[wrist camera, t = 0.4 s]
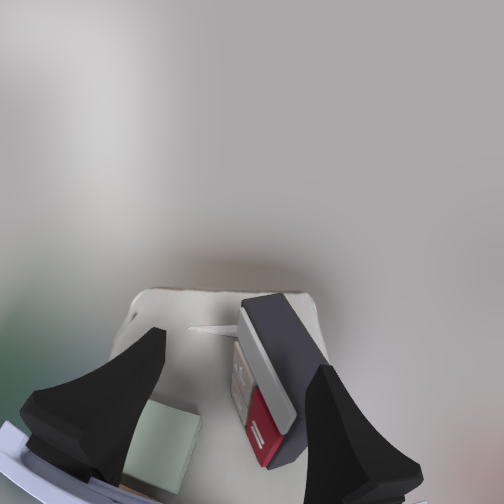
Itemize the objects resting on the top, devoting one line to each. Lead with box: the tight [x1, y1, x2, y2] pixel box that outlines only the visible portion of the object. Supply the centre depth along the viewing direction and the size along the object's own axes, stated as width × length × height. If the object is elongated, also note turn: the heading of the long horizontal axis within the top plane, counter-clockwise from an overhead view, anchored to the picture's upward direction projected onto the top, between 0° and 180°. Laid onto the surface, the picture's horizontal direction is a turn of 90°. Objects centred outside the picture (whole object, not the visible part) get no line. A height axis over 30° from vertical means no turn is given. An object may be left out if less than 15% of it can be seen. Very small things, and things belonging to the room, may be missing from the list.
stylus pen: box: [188, 325, 238, 337], centre depth 38 cm, size 15×3×2 cm, turn 89°
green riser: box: [123, 399, 202, 495], centre depth 22 cm, size 9×8×3 cm
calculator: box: [231, 293, 329, 470], centre depth 23 cm, size 11×4×15 cm, turn 20°
